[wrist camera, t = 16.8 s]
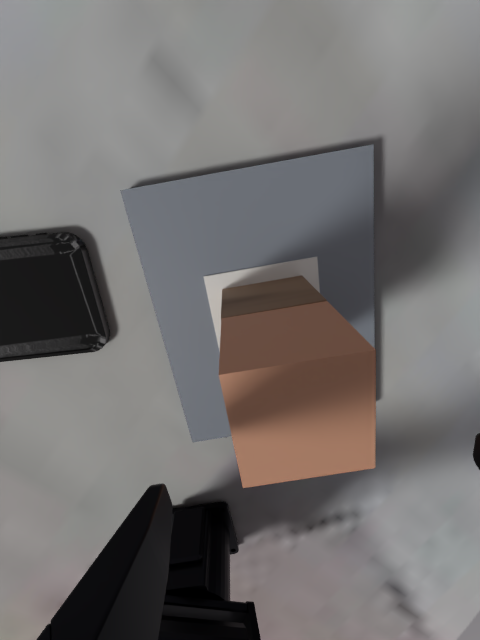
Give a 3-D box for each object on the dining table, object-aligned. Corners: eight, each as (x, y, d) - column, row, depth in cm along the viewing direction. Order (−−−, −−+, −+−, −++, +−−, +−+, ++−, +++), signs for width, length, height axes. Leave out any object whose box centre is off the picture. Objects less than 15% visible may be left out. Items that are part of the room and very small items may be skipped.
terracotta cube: (332, 390, 16) (375, 467, 11) (238, 405, 16) (242, 487, 12) (327, 301, 14) (375, 349, 10) (221, 318, 14) (218, 374, 10)
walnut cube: (308, 347, 21) (332, 389, 16) (236, 359, 21) (238, 404, 16) (302, 275, 19) (326, 299, 14) (222, 289, 19) (220, 318, 14)
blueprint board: (369, 404, 24) (375, 413, 23) (193, 432, 24) (192, 443, 23) (365, 147, 17) (374, 143, 16) (125, 190, 18) (119, 190, 17)
